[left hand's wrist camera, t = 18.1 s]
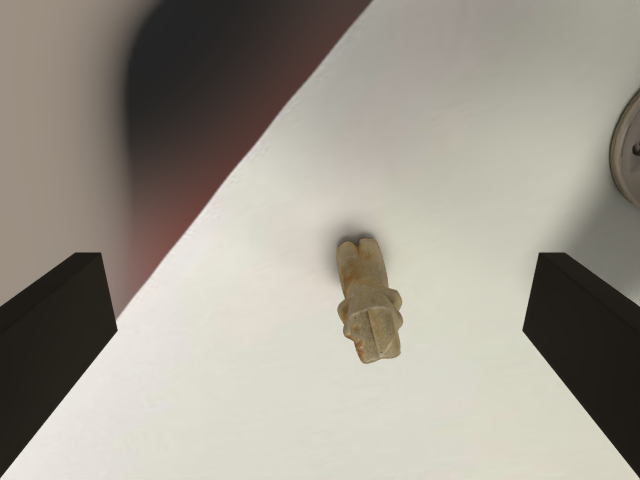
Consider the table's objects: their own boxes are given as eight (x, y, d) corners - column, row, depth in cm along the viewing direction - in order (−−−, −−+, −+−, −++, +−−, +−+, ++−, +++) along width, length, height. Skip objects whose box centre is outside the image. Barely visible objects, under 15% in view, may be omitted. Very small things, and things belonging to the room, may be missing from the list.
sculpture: (383, 230, 44) (412, 302, 30) (390, 289, 47) (420, 380, 33) (329, 239, 44) (333, 314, 30) (339, 297, 47) (347, 390, 33)
